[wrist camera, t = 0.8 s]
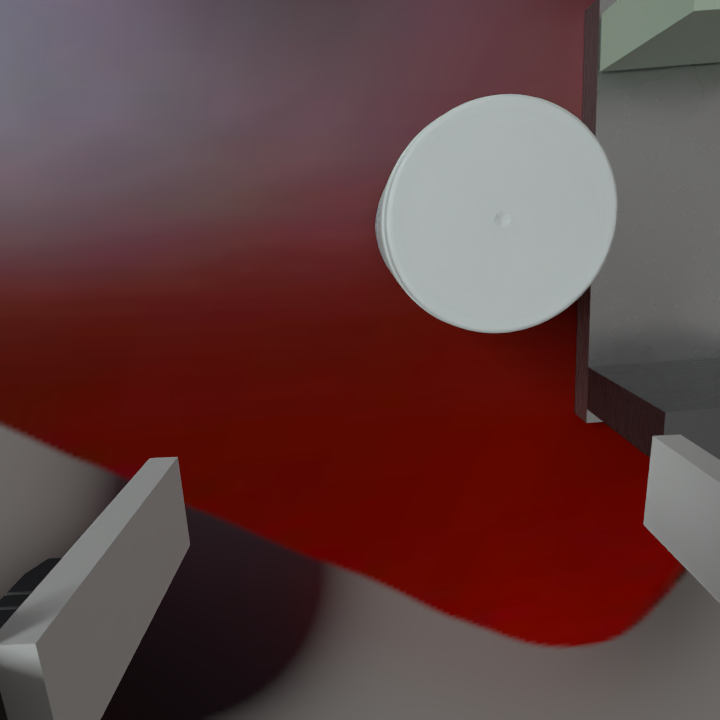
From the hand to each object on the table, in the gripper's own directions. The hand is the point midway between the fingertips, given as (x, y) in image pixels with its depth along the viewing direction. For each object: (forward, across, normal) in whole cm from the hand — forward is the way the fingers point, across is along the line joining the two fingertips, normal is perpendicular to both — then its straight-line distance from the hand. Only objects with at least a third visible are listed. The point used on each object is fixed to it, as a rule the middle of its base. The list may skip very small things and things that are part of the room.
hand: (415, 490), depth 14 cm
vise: (+23, +20, +6) cm, 31 cm away
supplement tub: (+23, +5, +7) cm, 24 cm away
